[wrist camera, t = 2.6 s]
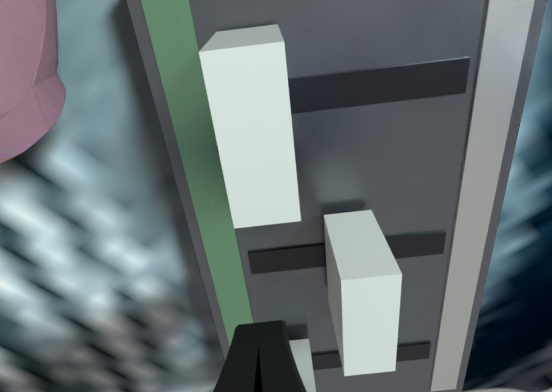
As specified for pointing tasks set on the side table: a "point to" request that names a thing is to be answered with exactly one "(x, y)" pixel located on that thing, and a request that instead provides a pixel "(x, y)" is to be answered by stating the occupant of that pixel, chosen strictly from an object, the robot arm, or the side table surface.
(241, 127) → the block
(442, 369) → the breaker panel
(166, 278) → the side table surface
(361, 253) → the block
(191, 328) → the side table surface
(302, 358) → the block
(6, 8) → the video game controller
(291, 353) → the robot arm
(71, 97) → the side table surface
